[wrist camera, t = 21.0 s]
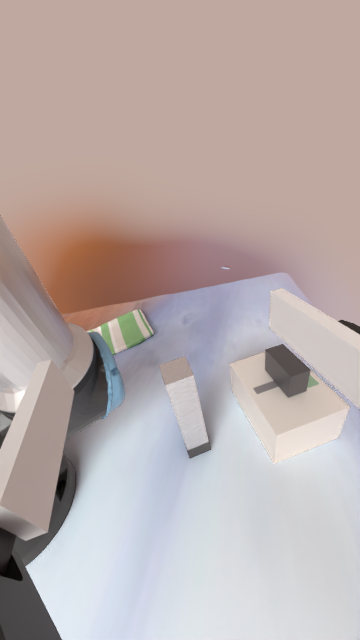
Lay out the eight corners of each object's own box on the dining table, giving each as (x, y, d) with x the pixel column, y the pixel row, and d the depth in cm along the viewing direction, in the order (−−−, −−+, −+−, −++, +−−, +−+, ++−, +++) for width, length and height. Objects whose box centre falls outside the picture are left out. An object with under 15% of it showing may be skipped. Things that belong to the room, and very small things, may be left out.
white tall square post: (189, 458, 36) (164, 386, 26) (183, 437, 39) (158, 365, 29) (210, 449, 36) (194, 375, 26) (202, 429, 39) (185, 355, 30)
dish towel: (75, 338, 74) (71, 332, 72) (141, 313, 79) (139, 306, 78) (77, 372, 59) (72, 365, 58) (157, 338, 65) (155, 331, 63)
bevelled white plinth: (274, 464, 33) (276, 435, 29) (232, 391, 45) (229, 363, 40) (338, 437, 34) (350, 406, 30) (281, 374, 46) (283, 344, 41)
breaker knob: (288, 397, 32) (290, 377, 30) (264, 369, 37) (265, 349, 35) (306, 391, 33) (310, 369, 30) (280, 364, 38) (282, 344, 35)
